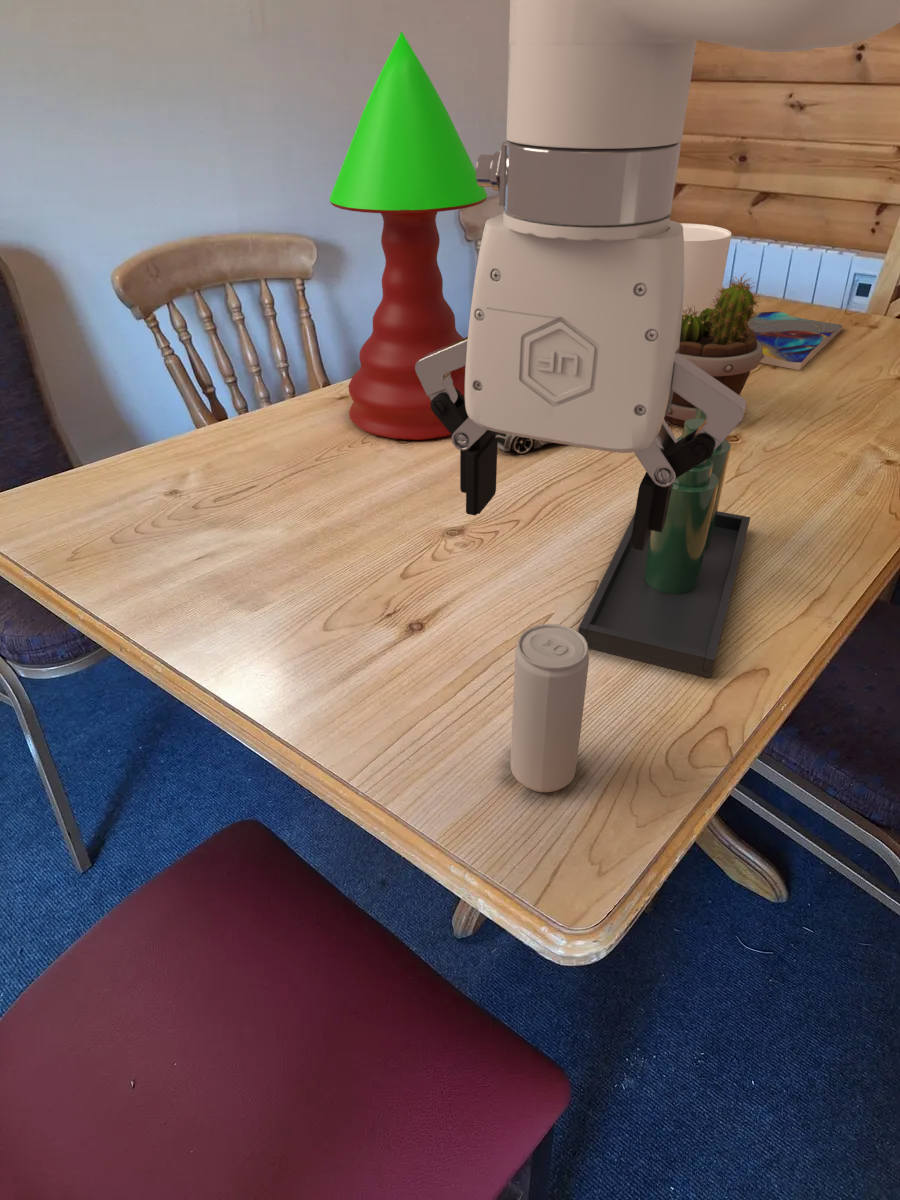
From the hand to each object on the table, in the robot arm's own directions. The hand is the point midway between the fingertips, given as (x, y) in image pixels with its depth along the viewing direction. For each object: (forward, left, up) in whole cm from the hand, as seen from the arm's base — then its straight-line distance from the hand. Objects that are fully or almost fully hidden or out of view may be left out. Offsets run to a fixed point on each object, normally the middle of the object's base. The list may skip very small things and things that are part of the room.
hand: (558, 520), depth 45 cm
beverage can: (0, 0, -22) cm, 22 cm away
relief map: (-7, -111, -22) cm, 113 cm away
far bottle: (-4, -36, -21) cm, 42 cm away
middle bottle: (-4, -28, -21) cm, 35 cm away
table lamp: (+38, -58, -22) cm, 73 cm away
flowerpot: (+1, -72, -22) cm, 75 cm away
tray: (-4, -28, -21) cm, 36 cm away
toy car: (+18, -57, -22) cm, 64 cm away
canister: (+9, -93, -22) cm, 96 cm away
